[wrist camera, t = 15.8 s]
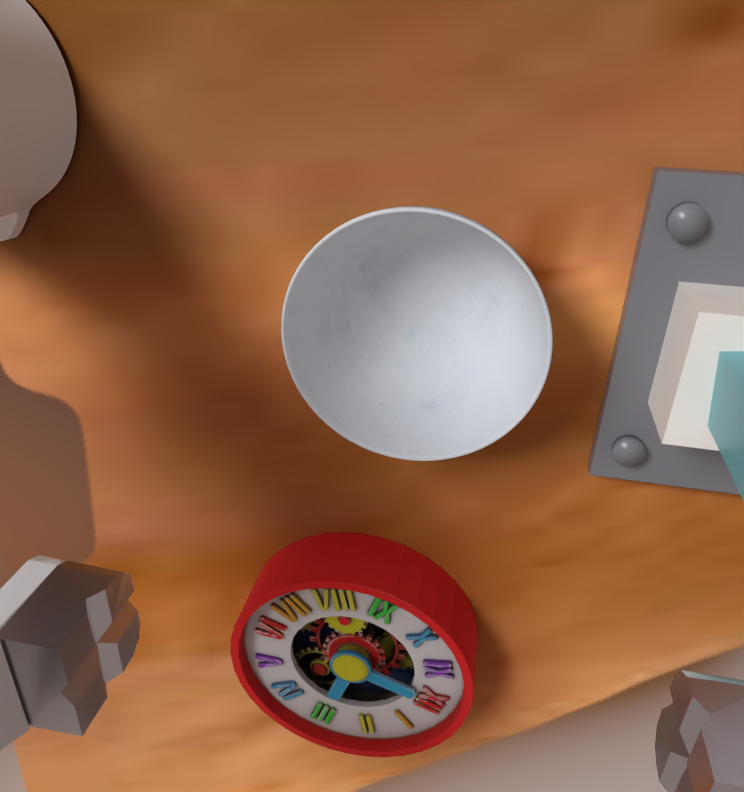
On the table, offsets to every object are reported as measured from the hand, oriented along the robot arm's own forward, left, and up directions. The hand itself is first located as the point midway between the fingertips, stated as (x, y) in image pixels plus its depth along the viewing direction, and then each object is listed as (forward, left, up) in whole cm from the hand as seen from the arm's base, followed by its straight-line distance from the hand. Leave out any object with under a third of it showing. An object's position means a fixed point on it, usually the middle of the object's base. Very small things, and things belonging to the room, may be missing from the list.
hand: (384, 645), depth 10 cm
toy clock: (-7, -37, -35) cm, 51 cm away
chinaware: (-3, -7, -34) cm, 35 cm away
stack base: (+15, -8, -34) cm, 38 cm away
